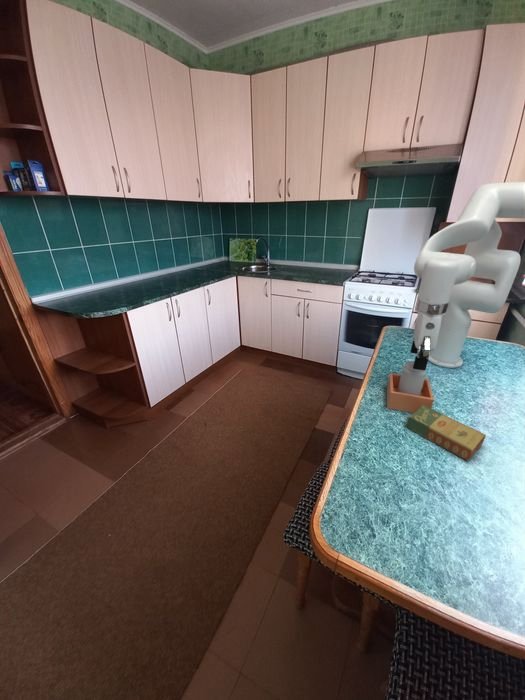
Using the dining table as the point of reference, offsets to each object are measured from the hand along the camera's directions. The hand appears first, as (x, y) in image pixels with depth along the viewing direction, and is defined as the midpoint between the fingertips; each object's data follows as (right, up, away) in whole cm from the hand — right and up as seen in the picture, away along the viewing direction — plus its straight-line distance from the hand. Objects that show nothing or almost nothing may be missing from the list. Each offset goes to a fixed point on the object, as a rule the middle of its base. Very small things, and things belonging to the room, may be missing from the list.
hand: (417, 360), depth 86 cm
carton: (+2, -20, -8) cm, 22 cm away
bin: (0, -13, +6) cm, 14 cm away
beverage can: (0, -12, +6) cm, 14 cm away
